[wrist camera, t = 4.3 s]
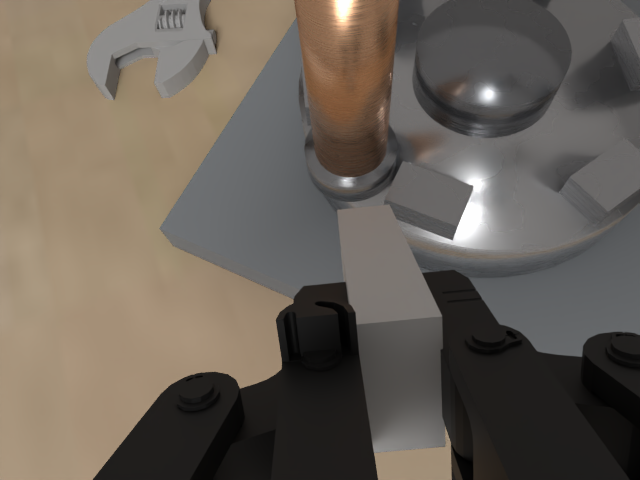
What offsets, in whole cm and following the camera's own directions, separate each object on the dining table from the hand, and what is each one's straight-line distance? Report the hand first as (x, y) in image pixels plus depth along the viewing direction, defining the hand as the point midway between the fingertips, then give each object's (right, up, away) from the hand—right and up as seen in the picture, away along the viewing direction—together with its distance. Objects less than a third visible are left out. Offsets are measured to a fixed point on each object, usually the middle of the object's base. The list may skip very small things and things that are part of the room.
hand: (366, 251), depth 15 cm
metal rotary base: (+6, +6, +10) cm, 13 cm away
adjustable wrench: (-7, +18, +20) cm, 28 cm away
